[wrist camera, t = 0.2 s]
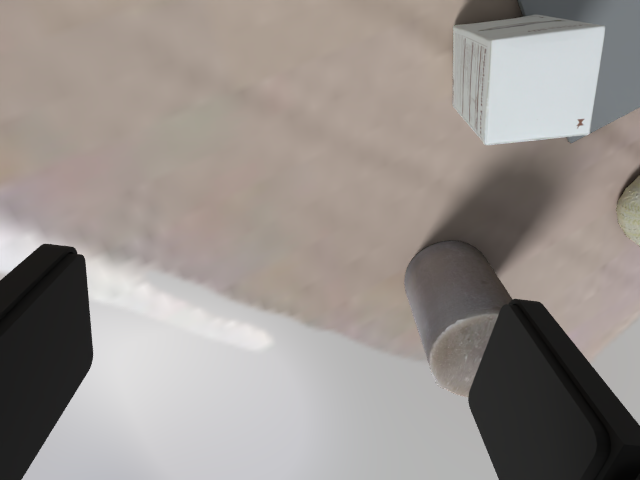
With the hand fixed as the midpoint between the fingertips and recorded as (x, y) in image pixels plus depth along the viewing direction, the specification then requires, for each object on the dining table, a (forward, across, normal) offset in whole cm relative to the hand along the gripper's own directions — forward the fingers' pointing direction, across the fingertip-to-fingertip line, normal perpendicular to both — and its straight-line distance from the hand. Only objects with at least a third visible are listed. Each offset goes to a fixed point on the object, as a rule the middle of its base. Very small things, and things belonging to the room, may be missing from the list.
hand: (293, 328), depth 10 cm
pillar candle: (+37, -18, +18) cm, 45 cm away
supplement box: (+36, -16, -5) cm, 40 cm away
